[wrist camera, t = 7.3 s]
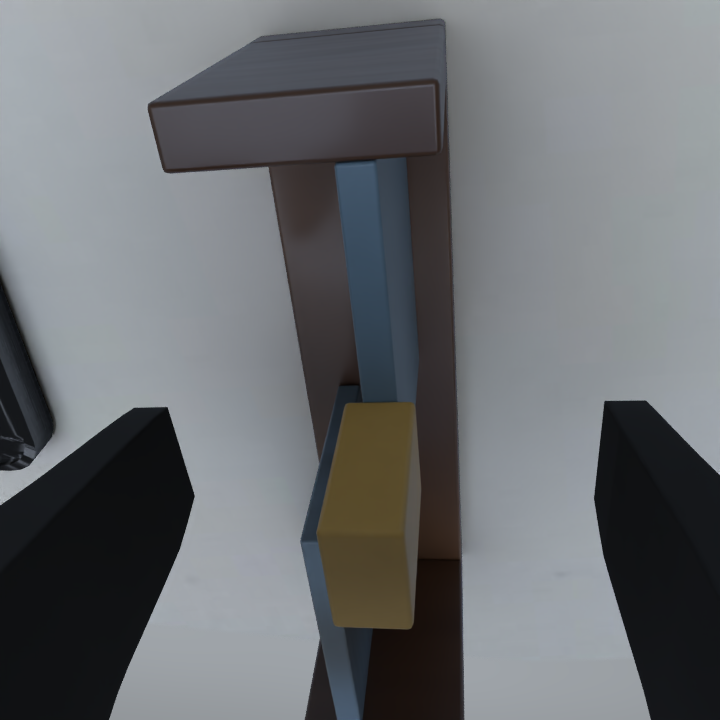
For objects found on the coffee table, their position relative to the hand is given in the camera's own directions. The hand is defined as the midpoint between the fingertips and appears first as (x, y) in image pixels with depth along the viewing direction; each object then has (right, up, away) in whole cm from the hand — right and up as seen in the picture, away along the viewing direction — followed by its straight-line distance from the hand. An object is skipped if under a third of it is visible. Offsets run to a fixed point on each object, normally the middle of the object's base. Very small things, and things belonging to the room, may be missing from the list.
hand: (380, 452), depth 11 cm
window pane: (+1, +4, +4) cm, 6 cm away
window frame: (0, +2, +7) cm, 7 cm away
